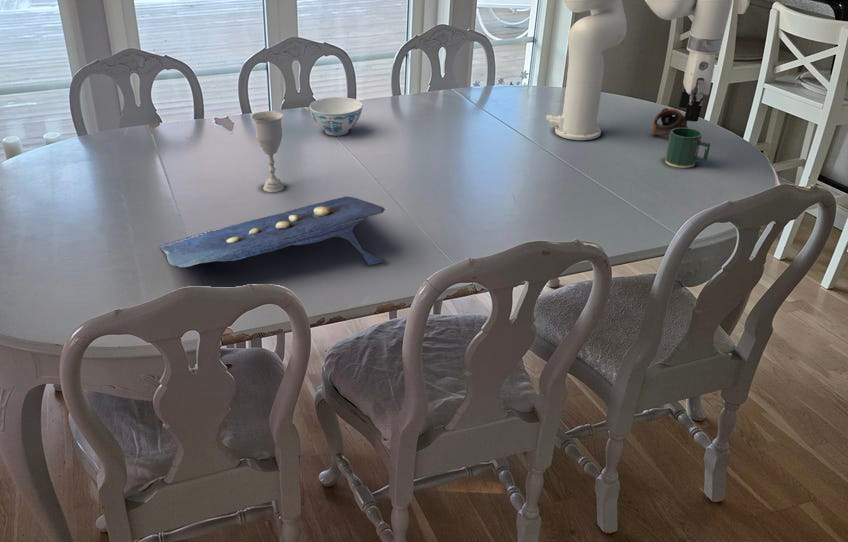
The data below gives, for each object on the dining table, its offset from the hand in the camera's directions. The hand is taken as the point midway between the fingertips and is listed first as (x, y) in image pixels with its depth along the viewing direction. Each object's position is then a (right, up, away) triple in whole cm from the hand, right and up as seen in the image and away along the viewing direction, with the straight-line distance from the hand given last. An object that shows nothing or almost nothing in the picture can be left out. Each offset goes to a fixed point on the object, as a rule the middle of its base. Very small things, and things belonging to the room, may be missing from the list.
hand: (687, 114), depth 195 cm
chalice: (-103, -19, -3) cm, 105 cm away
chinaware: (-89, +2, +30) cm, 94 cm away
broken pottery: (+4, 0, +24) cm, 25 cm away
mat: (-99, -37, -31) cm, 110 cm away
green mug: (+2, -11, +6) cm, 13 cm away
